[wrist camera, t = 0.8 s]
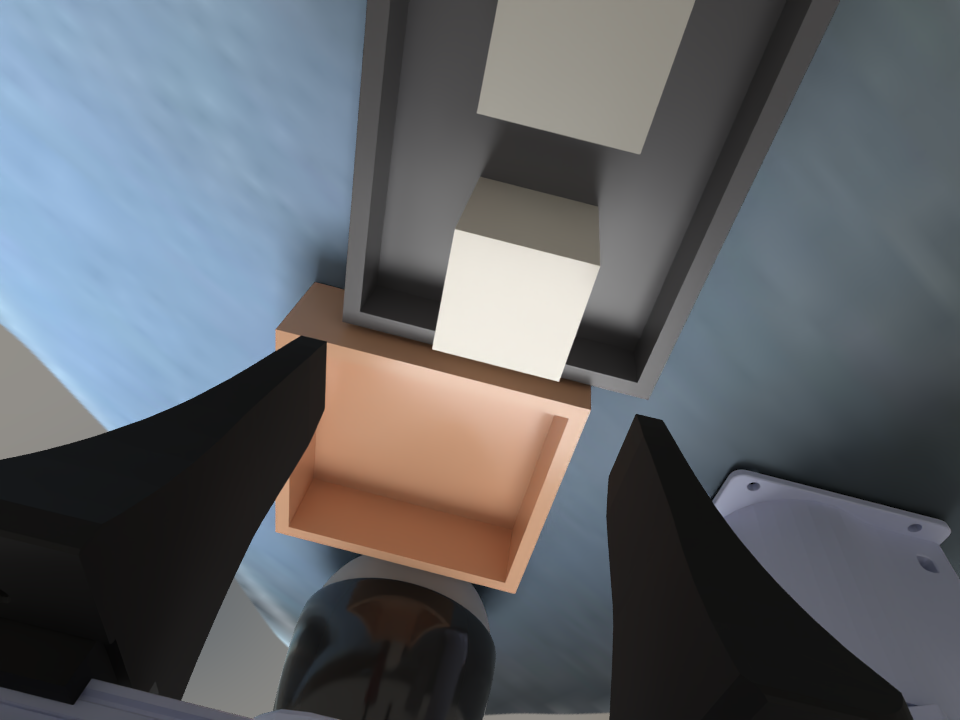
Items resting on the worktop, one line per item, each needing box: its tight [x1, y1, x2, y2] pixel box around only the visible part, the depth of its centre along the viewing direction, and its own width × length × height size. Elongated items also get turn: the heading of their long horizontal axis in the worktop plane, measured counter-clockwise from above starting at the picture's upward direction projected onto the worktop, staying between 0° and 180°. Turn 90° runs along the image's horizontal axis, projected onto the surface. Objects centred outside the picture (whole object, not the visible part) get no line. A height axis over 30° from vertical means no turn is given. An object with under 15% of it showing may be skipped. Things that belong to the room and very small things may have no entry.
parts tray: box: [342, 0, 840, 400], centre depth 18 cm, size 11×14×3 cm
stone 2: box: [432, 177, 600, 382], centre depth 19 cm, size 4×4×4 cm
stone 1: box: [477, 0, 695, 154], centre depth 15 cm, size 4×4×4 cm
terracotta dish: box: [276, 282, 591, 594], centre depth 25 cm, size 11×11×4 cm
